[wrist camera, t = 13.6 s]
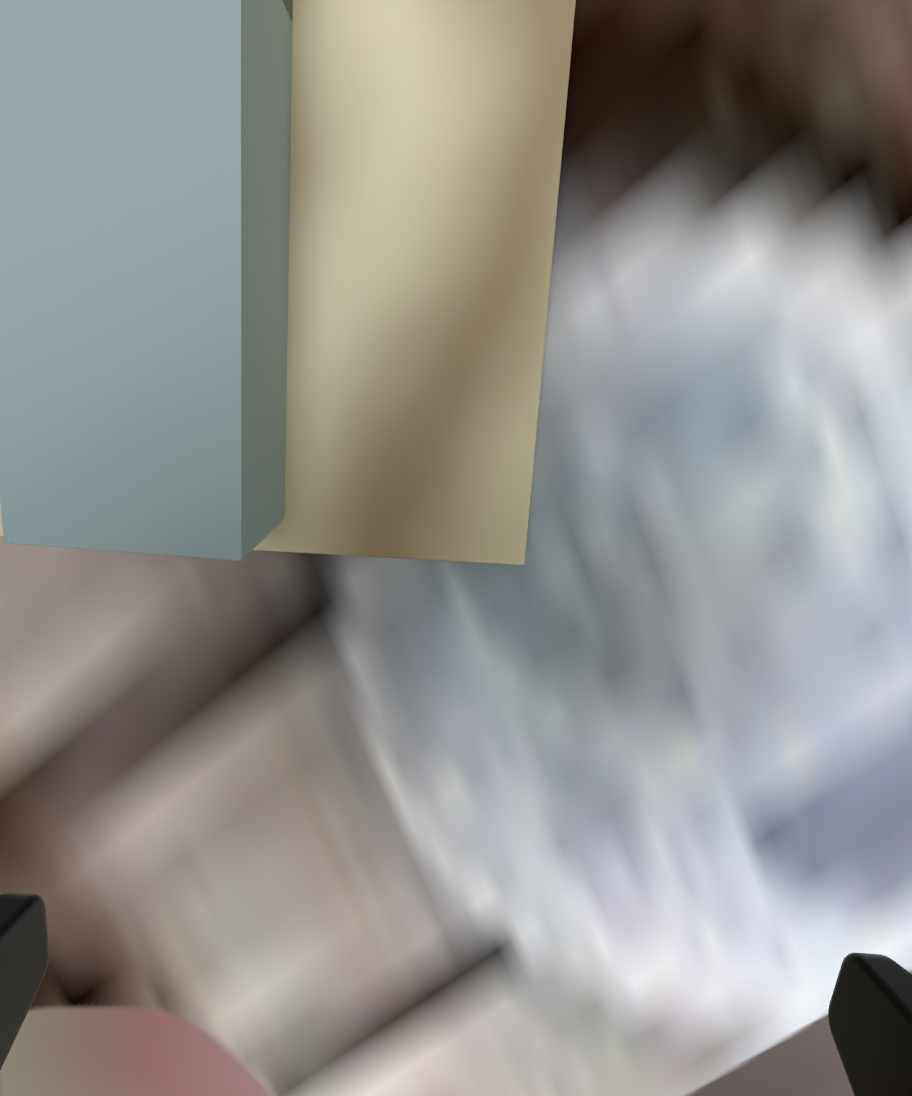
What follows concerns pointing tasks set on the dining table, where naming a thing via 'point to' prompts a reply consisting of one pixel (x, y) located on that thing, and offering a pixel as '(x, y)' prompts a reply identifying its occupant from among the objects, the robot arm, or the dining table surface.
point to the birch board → (419, 272)
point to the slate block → (144, 273)
